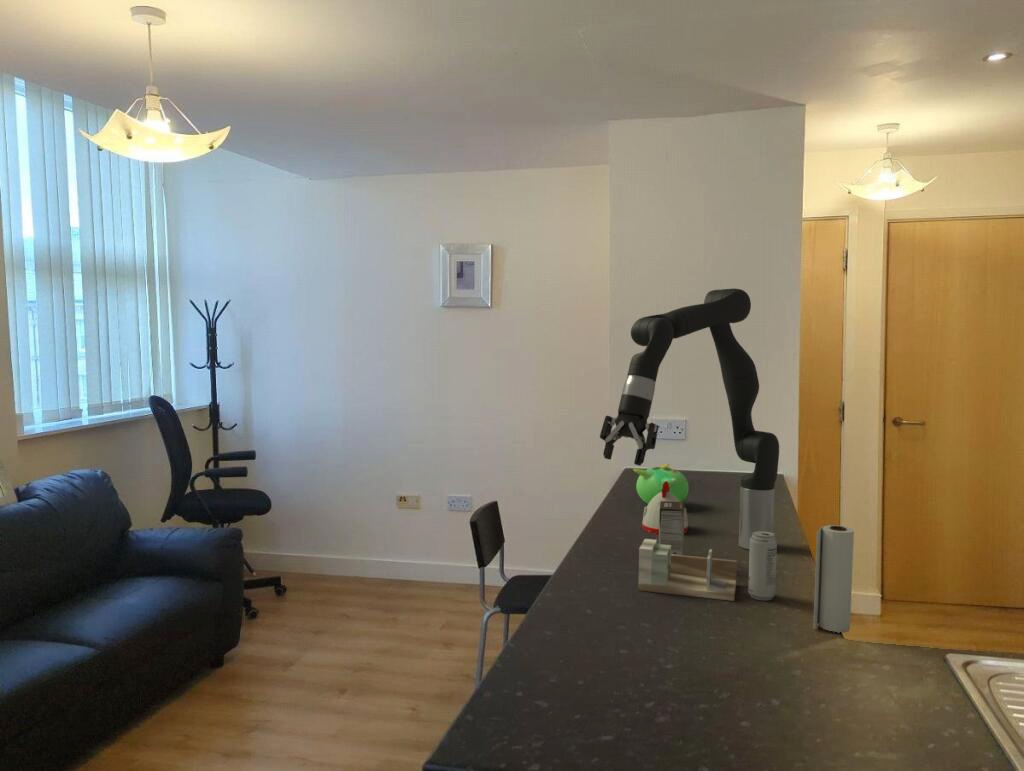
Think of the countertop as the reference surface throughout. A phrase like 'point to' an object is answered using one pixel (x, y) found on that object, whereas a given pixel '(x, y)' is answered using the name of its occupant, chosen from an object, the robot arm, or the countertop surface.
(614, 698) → the countertop surface
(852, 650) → the countertop surface
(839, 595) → the paper towel roll
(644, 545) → the wooden desk organizer
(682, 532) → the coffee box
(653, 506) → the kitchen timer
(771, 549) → the energy drink can
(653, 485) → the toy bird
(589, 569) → the countertop surface
